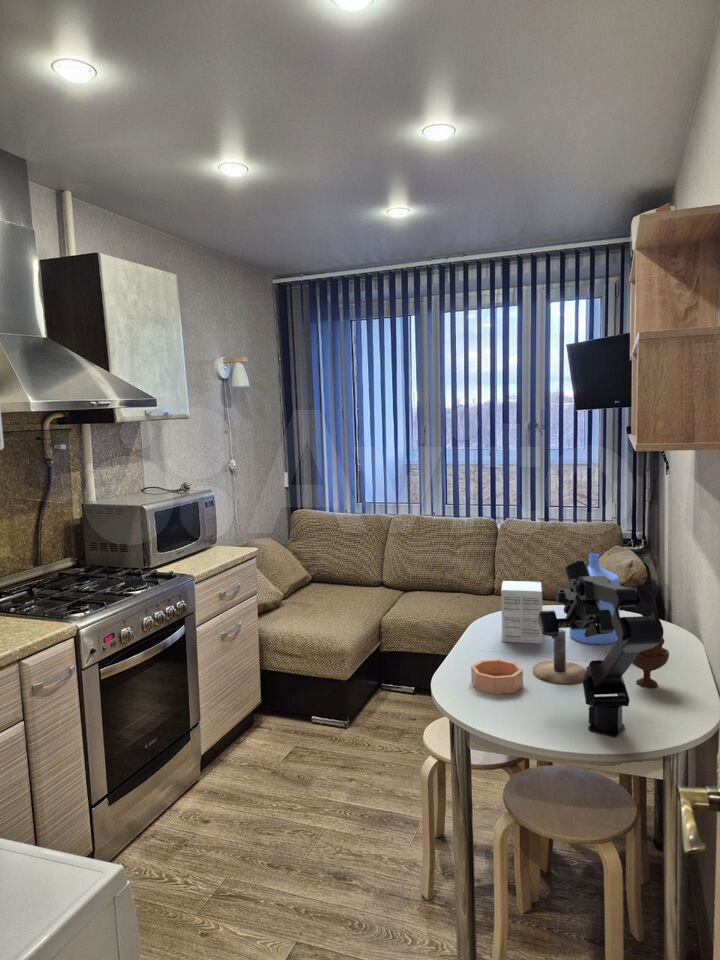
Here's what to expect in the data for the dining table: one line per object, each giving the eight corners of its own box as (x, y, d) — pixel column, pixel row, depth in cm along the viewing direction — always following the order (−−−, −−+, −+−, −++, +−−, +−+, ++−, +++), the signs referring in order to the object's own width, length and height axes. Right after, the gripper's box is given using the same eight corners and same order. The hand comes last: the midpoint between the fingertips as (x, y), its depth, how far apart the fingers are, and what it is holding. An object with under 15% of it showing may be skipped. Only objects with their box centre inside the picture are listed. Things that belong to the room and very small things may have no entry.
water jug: (598, 627, 225) (597, 548, 223) (630, 641, 210) (630, 556, 208) (559, 633, 220) (559, 552, 218) (590, 648, 205) (589, 561, 203)
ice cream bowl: (631, 673, 184) (631, 621, 182) (674, 682, 177) (674, 628, 175) (619, 685, 176) (619, 631, 174) (663, 695, 168) (663, 639, 167)
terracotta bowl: (529, 681, 180) (529, 666, 180) (507, 697, 170) (507, 681, 170) (487, 671, 188) (487, 656, 188) (464, 686, 178) (464, 670, 178)
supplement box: (503, 629, 227) (502, 580, 225) (542, 631, 223) (541, 581, 222) (501, 641, 214) (500, 589, 212) (542, 644, 210) (542, 591, 209)
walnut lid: (595, 671, 186) (595, 628, 185) (575, 688, 175) (575, 643, 174) (545, 660, 196) (545, 620, 195) (523, 676, 184) (523, 633, 183)
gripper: (610, 579, 170) (594, 608, 182) (539, 581, 169) (528, 611, 181) (623, 617, 162) (606, 645, 174) (549, 620, 162) (537, 648, 174)
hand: (568, 636), depth 176 cm, fingers open, 9 cm apart
